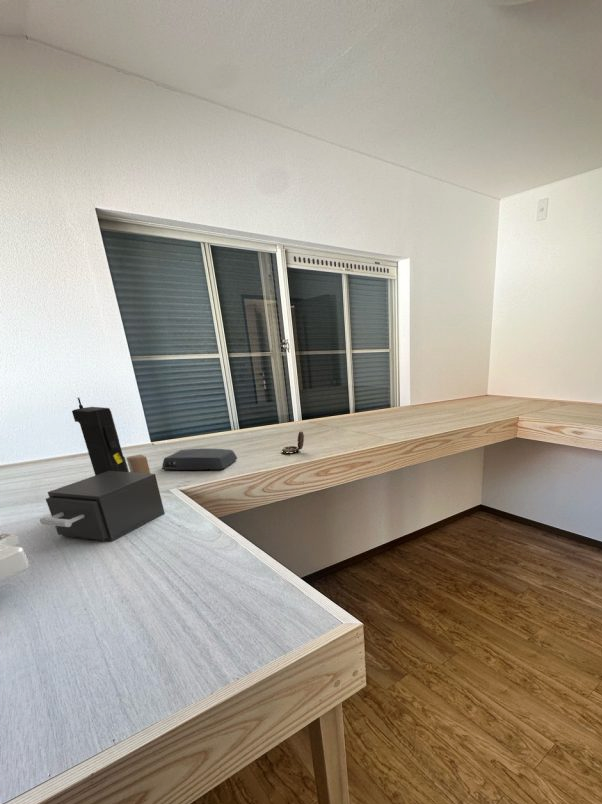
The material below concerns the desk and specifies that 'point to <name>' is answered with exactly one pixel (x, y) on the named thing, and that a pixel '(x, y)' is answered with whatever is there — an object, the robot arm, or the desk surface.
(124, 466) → the portable radio
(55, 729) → the desk surface
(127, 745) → the desk surface
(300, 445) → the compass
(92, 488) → the air fryer
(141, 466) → the wooden block
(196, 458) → the hard drive
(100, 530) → the fryer drawer
